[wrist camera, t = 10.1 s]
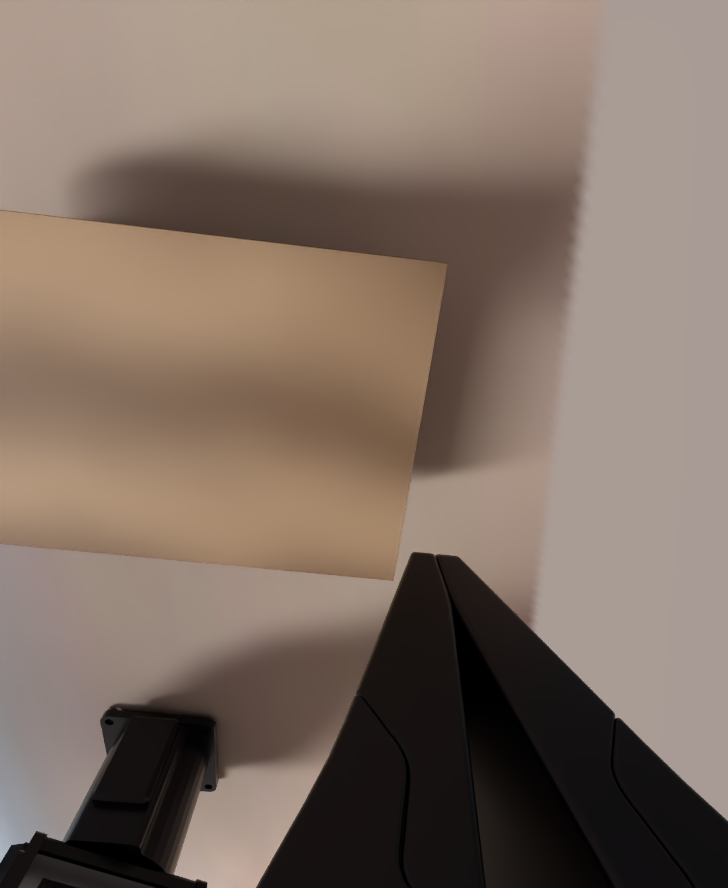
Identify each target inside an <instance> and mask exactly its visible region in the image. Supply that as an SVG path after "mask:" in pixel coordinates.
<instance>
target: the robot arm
mask: <svg viewBox="0 0 728 888" xmlns="http://www.w3.org/2000/svg"><path fill="white" fill-rule="evenodd" d="M100 722H101V727H102V732H103V737H104V742H105V747H106V752H107V757H106V759H105V760H104V762H103V764H102V766H101V768H100V770H99V772H98V774H97V776H96V778H95V780H94V782H93V784H92V785H91V787H90V789H89V791H88V793H87V795H86V797H85V799H84V801H83V803H82V805H81V807H80V809H79V810H78V812H77V814H76V816H75V818H74V820H73V822H72V824H71V826H70V828H69V830H68V832H67V834H66V835H65V837H64V839H63V841H59V840H55V839H52V838H48V837H46V836H47V834H45V833H41V832H38V831H36V833H35V834H34V836H33V838H32V839H31V841H30V843H26V842H25V844H17V845H11V847H10V848H9V850H8V852H7V853H6V855H5V857H4V858H3V860H2V862H1V863H0V888H207V882H205V881H201V880H198V879H197V880H196V881H193V880H189V879H186V878H183V877H179V876H176V875H174V872H175V869H176V865H177V862H178V859H179V856H180V853H181V849H182V846H183V843H184V840H185V837H186V834H187V830H188V827H189V824H190V821H191V818H192V814H193V811H194V808H195V805H196V802H197V799H198V795H199V792H200V791H207V792H211V791H214V790H216V787H217V784H218V759H217V734H216V722H215V721H214V720H213V719H211V718H204V717H192V716H180V715H168V714H156V713H144V712H132V711H120V710H107V711H106V712H105V713H104V714H103V716H102V718H101V720H100ZM256 888H728V821H727V820H726V819H725V818H724V817H723V816H722V815H721V814H719V813H718V812H717V811H716V810H715V809H714V808H713V807H712V806H711V805H709V804H708V803H707V802H706V801H705V800H704V799H703V798H702V797H701V796H700V795H699V794H698V793H696V792H695V791H694V790H693V789H692V788H691V787H690V786H689V785H688V784H686V782H685V781H683V780H682V779H681V778H680V777H679V776H678V775H677V774H676V773H675V772H674V771H673V770H672V769H671V768H670V767H669V766H668V765H667V764H666V763H665V762H664V761H663V760H662V759H661V758H660V757H659V756H658V755H657V754H656V753H654V751H652V750H651V749H650V748H649V747H648V746H647V745H646V744H645V743H644V742H643V741H642V740H641V739H640V738H639V737H638V736H637V735H636V734H635V733H634V732H633V731H632V730H631V729H630V728H629V727H628V726H627V725H626V724H625V723H624V722H623V721H622V720H621V719H620V718H615V714H614V712H613V711H612V710H611V709H610V708H609V707H608V706H607V705H606V704H605V703H604V702H603V701H602V700H601V699H600V698H599V697H598V696H597V695H596V694H595V693H594V692H593V691H592V690H591V689H590V688H589V687H588V686H587V685H586V684H585V683H584V682H583V681H582V680H581V679H580V678H579V677H578V676H577V675H576V674H575V673H574V672H573V671H572V670H571V669H570V668H569V667H568V666H567V665H566V664H565V663H564V662H563V661H562V660H561V659H560V658H559V657H558V656H557V655H556V654H555V653H554V652H553V651H552V650H551V649H550V648H549V647H548V646H547V645H546V644H545V643H544V642H543V641H542V640H541V639H540V638H539V637H538V636H537V635H536V634H535V633H534V632H533V631H532V630H531V629H530V628H529V627H528V626H527V625H526V624H525V623H524V622H523V621H522V620H521V619H520V618H519V617H518V616H517V615H516V614H515V613H514V612H513V611H512V610H511V609H510V608H509V607H508V606H507V605H506V604H505V603H504V602H503V601H502V600H501V599H500V598H499V597H498V596H497V595H496V594H495V593H494V592H493V591H492V590H491V589H490V588H489V587H488V586H487V585H486V584H485V583H484V582H483V581H482V580H481V579H480V578H479V577H478V576H477V575H476V574H475V573H474V572H473V571H472V570H471V569H470V568H469V567H468V566H467V565H466V564H465V563H464V562H463V561H462V560H461V559H460V558H459V557H457V556H451V555H440V554H437V555H436V556H435V555H433V554H430V553H420V552H413V553H412V554H411V556H410V558H409V561H408V563H407V566H406V568H405V571H404V573H403V576H402V578H401V581H400V583H399V586H398V588H397V591H396V593H395V596H394V598H393V601H392V603H391V606H390V608H389V611H388V613H387V616H386V618H385V621H384V624H383V626H382V629H381V631H380V634H379V636H378V639H377V641H376V644H375V646H374V649H373V651H372V654H371V656H370V659H369V661H368V664H367V666H366V669H365V671H364V674H363V676H362V679H361V681H360V684H359V686H358V689H357V691H356V696H355V697H354V698H353V701H352V703H351V706H350V708H349V711H348V713H347V716H346V718H345V721H344V723H343V725H342V728H341V730H340V732H339V734H338V737H337V739H336V741H335V743H334V746H333V748H332V750H331V752H330V755H329V757H328V759H327V761H326V763H325V764H324V766H323V768H322V770H321V772H320V774H319V776H318V778H317V780H316V782H315V784H314V785H313V787H312V789H311V791H310V793H309V795H308V797H307V799H306V801H305V803H304V804H303V806H302V808H301V810H300V811H299V813H298V815H297V817H296V818H295V820H294V822H293V824H292V825H291V827H290V829H289V831H288V832H287V834H286V836H285V838H284V839H283V841H282V843H281V845H280V847H279V848H278V850H277V852H276V854H275V855H274V857H273V859H272V861H271V862H270V864H269V866H268V868H267V869H266V871H265V873H264V875H263V876H262V878H261V880H260V882H259V883H258V885H257V887H256Z"/></svg>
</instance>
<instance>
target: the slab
mask: <svg viewBox="0 0 728 888" xmlns="http://www.w3.org/2000/svg"><path fill="white" fill-rule="evenodd" d="M447 266H448V264H446V263H440V262H435V261H426V260H418V259H409V258H401V257H393V256H384V255H376V254H367V253H359V252H351V251H342V250H334V249H325V248H317V247H308V246H300V245H292V244H283V243H275V242H266V241H258V240H250V239H241V238H233V237H224V236H216V235H208V234H199V233H191V232H182V231H174V230H165V229H157V228H149V227H140V226H132V225H123V224H115V223H107V222H98V221H90V220H81V219H73V218H65V217H56V216H48V215H39V214H31V213H22V212H14V211H6V210H0V544H8V545H19V546H29V547H40V548H51V549H61V550H72V551H83V552H93V553H104V554H115V555H125V556H136V557H147V558H157V559H168V560H178V561H189V562H200V563H210V564H221V565H232V566H242V567H253V568H264V569H274V570H285V571H296V572H306V573H317V574H328V575H338V576H349V577H360V578H370V579H381V580H392V581H393V580H394V574H395V568H396V563H397V557H398V551H399V545H400V539H401V533H402V528H403V522H404V516H405V510H406V504H407V499H408V493H409V487H410V481H411V475H412V469H413V464H414V458H415V452H416V446H417V440H418V435H419V429H420V423H421V417H422V411H423V405H424V400H425V394H426V388H427V382H428V376H429V371H430V365H431V359H432V353H433V347H434V342H435V336H436V330H437V324H438V318H439V312H440V307H441V301H442V295H443V289H444V283H445V278H446V272H447Z"/></svg>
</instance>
